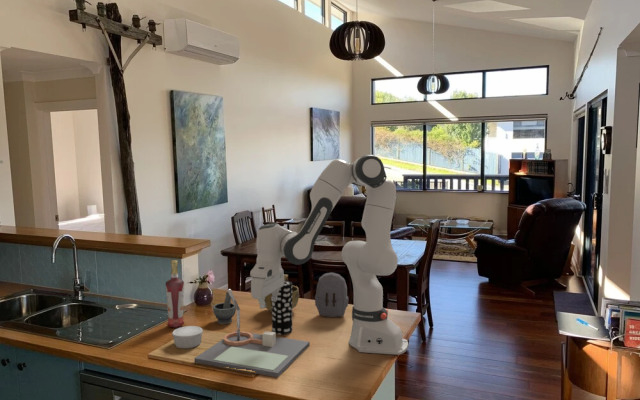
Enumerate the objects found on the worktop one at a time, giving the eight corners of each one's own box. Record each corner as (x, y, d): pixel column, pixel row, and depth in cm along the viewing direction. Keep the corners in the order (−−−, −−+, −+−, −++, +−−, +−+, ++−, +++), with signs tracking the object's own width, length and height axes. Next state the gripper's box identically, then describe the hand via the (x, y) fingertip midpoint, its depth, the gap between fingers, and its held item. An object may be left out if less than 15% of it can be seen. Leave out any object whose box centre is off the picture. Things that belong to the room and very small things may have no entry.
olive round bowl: (268, 303, 235) (268, 273, 233) (302, 305, 232) (302, 274, 231) (256, 318, 213) (255, 285, 211) (293, 320, 210) (293, 287, 209)
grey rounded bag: (348, 314, 219) (349, 271, 217) (347, 320, 211) (347, 275, 209) (316, 312, 221) (316, 269, 219) (313, 318, 213) (313, 274, 211)
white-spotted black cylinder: (289, 335, 193) (289, 286, 191) (269, 333, 195) (269, 285, 193) (294, 328, 201) (294, 281, 200) (275, 326, 203) (275, 280, 201)
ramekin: (171, 340, 188) (171, 327, 187) (201, 337, 192) (200, 324, 191) (173, 351, 177) (173, 338, 177) (204, 347, 181) (204, 334, 181)
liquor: (185, 328, 201) (183, 262, 198) (166, 330, 199) (164, 263, 196) (184, 322, 208) (183, 258, 205) (166, 324, 206) (165, 259, 203)
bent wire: (241, 341, 185) (240, 284, 183) (230, 348, 178) (230, 289, 176) (237, 340, 186) (237, 283, 184) (227, 347, 179) (226, 289, 176)
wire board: (309, 345, 183) (309, 341, 183) (277, 377, 157) (277, 372, 157) (235, 334, 194) (235, 330, 194) (194, 362, 168) (194, 357, 168)
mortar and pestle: (229, 326, 203) (229, 298, 202) (209, 324, 205) (208, 297, 204) (240, 317, 214) (240, 291, 213) (221, 315, 216) (220, 289, 215)
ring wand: (280, 340, 185) (280, 328, 184) (267, 351, 174) (267, 338, 174) (233, 333, 192) (233, 322, 191) (218, 343, 182) (218, 331, 181)
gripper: (273, 261, 188) (273, 295, 190) (247, 273, 169) (247, 311, 170) (288, 262, 186) (288, 297, 187) (263, 274, 167) (263, 313, 168)
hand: (268, 304), depth 179 cm, fingers open, 8 cm apart
